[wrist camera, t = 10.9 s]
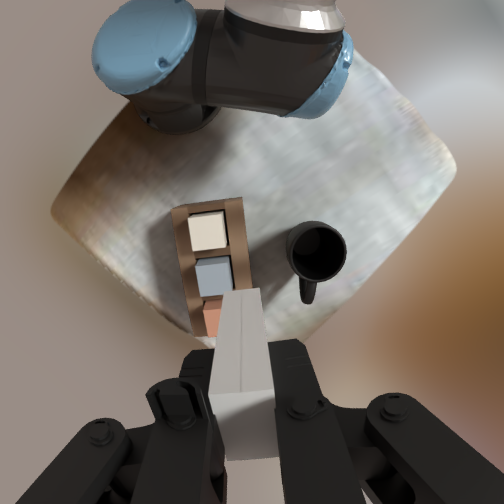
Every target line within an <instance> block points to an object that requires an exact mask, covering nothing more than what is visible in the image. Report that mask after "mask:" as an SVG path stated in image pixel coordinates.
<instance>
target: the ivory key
mask: <svg viewBox="0 0 504 504" xmlns="http://www.w3.org/2000/svg"><path fill="white" fill-rule="evenodd" d="M188 224H189V231H190V237H191V244H192V250H193V251H199V250H208V249H216V248H225V247H226V244H227V240H228V232H227V224H226V216H225V209H219V210H211V211H203V212H196V213H195V214H193V215H192V216H190V217H189V218H188Z"/></svg>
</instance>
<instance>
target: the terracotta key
mask: <svg viewBox="0 0 504 504" xmlns="http://www.w3.org/2000/svg"><path fill="white" fill-rule="evenodd" d="M222 301H223V299H214V300H206V302H205V305H204V309H203V313H204V318H205V323H206V328H207V333H208V337H217V332H218V326H219V320H220V313H221V307H222Z"/></svg>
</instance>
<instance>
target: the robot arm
mask: <svg viewBox="0 0 504 504" xmlns="http://www.w3.org/2000/svg"><path fill="white" fill-rule="evenodd" d="M335 1H336V0H225V8H224V10H212V9H194V8H193V6H192V5H191V4H190V3H189V2H187V1H186V0H131V1H129V2H127V3H125V4H124V5H122V6H121V7H120V8H119V10H118V11H117V12H115V13H114V14H112V15H110V16H109V18H108V19H107V20H106V21H105V22H104V24H103V25H102V27H101V28H100V30H99V32H98V33H97V36H96V38H95V40H94V44H93V48H92V65H93V68H94V71H95V73H96V75H97V76H98V77H99V79H100V80H101V81H103V82H104V83H105V85H106V86H107V87H108V88H109V89H110V90H112V91H113V92H116V93H118V94H121V95H122V96H124V97H125V98H127V99H129V100H130V101H132V102H133V103H134V106H135V109H136V111H137V113H138V115H139V116H140V118H141V119H142V120H143V121H144V122H145V123H146V124H147V125H149V126H150V127H152V128H153V129H155V130H157V131H160V132H162V133H166V134H173V135H179V134H186V133H190V132H193V131H196V130H198V129H200V128H202V127H204V126H205V125H206V124H208V123H209V122H210V121H211V120H212V119H213V118H214V117H215V116H216V115H217V114H218V112H219V111H220V109H221V107H226V108H234V109H241V110H249V111H255V112H262V113H268V114H274V115H277V116H279V117H296V118H302V119H315V118H318V117H320V116H322V115H323V114H325V113H326V112H327V111H328V110H329V109H330V108H331V107H332V106H333V104H334V103H335V101H336V100H337V98H338V97H339V95H340V93H341V91H342V89H343V87H344V85H345V83H346V80H347V77H348V74H349V73H348V68H349V67H350V65H351V63H352V58H353V41H352V39H351V37H350V35H349V34H348V33H346V32H345V31H344V30H343V29H344V27H345V23H346V22H345V19H344V17H343V16H342V14H341V13H340V11H339V10H338V8H337V7H336V4H335ZM146 398H147V400H148V402H149V405H150V407H151V410H152V412H153V415H154V417H155V423H153V424H151V425H147V426H143V427H138V428H132V429H126V430H125V428H124V427H123V425H122V424H121V423H120V422H119V421H117V420H115V419H111V418H100V419H96V420H93V421H91V422H89V423H87V424H86V425H85V426H84V427H82V428H81V430H80V431H79V432H78V433H77V434H76V435H75V436H74V438H73V439H72V440H71V441H70V442H69V443H68V444H67V445H66V446H65V448H64V449H63V450H62V451H61V452H60V453H59V454H58V456H57V457H56V458H55V459H54V460H53V461H52V462H51V463H50V465H49V466H48V467H47V468H46V469H45V470H44V471H43V473H42V474H41V475H40V476H39V477H38V478H37V479H36V480H35V482H34V483H33V484H32V485H31V486H30V487H29V489H28V490H27V491H26V492H25V493H24V494H23V495H22V496H21V498H20V499H19V500H18V501H17V502H16V503H15V504H226V502H227V501H226V500H227V473H226V469H225V466H224V459H225V455H226V458H227V461H233V460H249V459H262V458H271V457H279V458H280V466H281V476H282V485H283V492H284V500H285V504H366V501H365V498H364V495H363V492H362V489H363V491H364V492H365V493H366V495H367V496H368V498H369V499H370V500H371V502H372V503H373V504H504V474H503V473H502V472H501V471H500V470H499V469H497V468H496V467H495V466H494V465H493V464H492V463H490V462H489V461H488V460H487V459H486V458H484V457H483V456H482V455H481V454H480V453H478V452H477V451H476V450H475V449H474V448H473V447H471V446H470V445H469V444H468V443H466V442H465V441H464V440H463V439H462V438H461V437H459V436H458V435H457V434H456V433H455V432H453V431H452V430H451V429H450V428H449V427H448V426H446V425H445V424H444V423H443V422H442V421H440V420H439V419H438V418H437V417H436V416H435V415H433V414H432V413H431V412H430V411H429V410H427V409H426V408H425V407H424V406H423V405H421V403H419V402H418V401H417V400H416V399H414V398H412V397H411V396H409V395H407V394H402V393H387V394H383V395H380V396H378V397H376V398H375V399H374V400H372V401H371V403H370V404H369V405H368V407H367V408H356V409H355V408H343V407H339V406H336V405H334V404H332V403H330V401H329V400H328V399H327V398H325V397H324V396H323V394H322V392H321V389H320V386H319V383H318V381H317V378H316V375H315V372H314V369H313V366H312V364H311V361H310V358H309V355H308V352H307V349H306V346H305V345H304V344H303V343H301V342H300V341H299V340H297V339H290V340H282V341H274V342H267V336H266V329H265V322H264V315H263V308H262V301H261V294H260V288H252V289H243V290H234V291H225V292H224V295H223V301H222V307H221V313H220V320H219V326H218V332H217V339H216V345H215V349H202V350H192V351H191V352H190V353H189V354H188V355H187V356H186V357H185V358H184V361H183V364H182V367H181V371H180V374H179V378H172V379H166V380H163V381H161V382H158V383H157V384H155V385H154V386H152V387H151V388H150V389H149V390H148V392H147V393H146ZM361 488H362V489H361Z"/></svg>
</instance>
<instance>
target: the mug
mask: <svg viewBox="0 0 504 504" xmlns="http://www.w3.org/2000/svg"><path fill="white" fill-rule="evenodd" d="M286 254H287V258H288V261H289V263H290V265H291V267H292V269H293V270H294V272H295V273H296V274H297V275H298V276H299V286H300V297H301V301H302V302H303V303H304V304H311V303H312V302H313V300H314V296H315V292H316V286H317V282H324V281H327V280H329V279H331V278H333V277H334V276H335V275H337V273H338V272H339V271H340V270H341V269H342V267H343V265H344V263H345V260H346V254H347V250H346V244H345V241H344V239H343V237H342V235H341V234H340V233H339V232H338V231H337V230H336V229H334V228H332V227H331V226H329V225H327V224H325V223H322V222H319V221H307V222H303V223H301V224H298V225H297V226H296V227H294V228H293V229H292V231H291V232H290V234H289V236H288V238H287V241H286Z"/></svg>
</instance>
